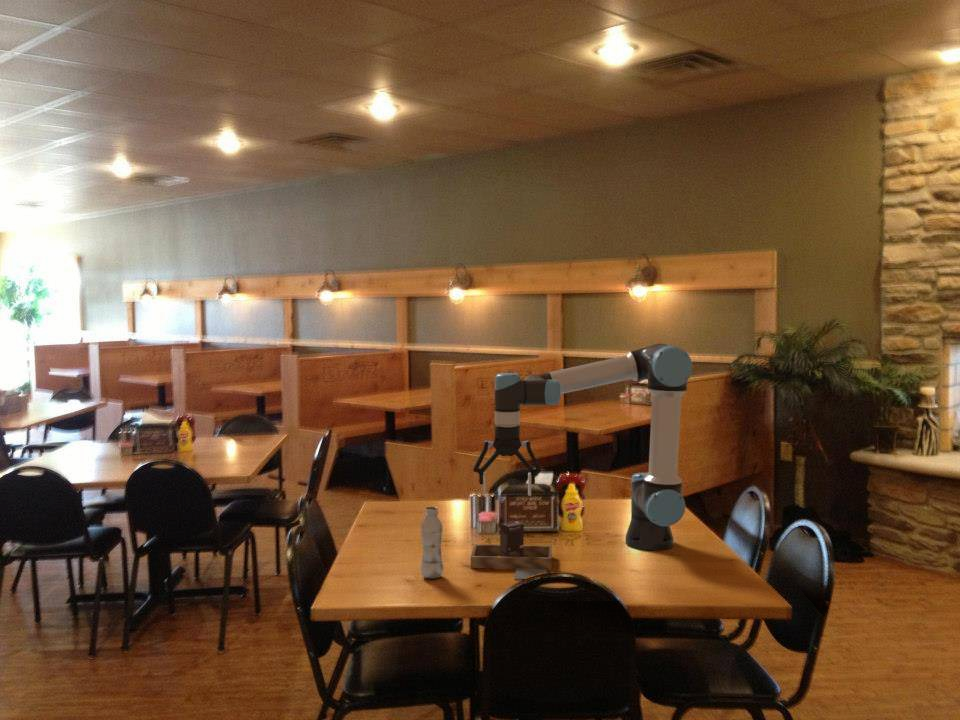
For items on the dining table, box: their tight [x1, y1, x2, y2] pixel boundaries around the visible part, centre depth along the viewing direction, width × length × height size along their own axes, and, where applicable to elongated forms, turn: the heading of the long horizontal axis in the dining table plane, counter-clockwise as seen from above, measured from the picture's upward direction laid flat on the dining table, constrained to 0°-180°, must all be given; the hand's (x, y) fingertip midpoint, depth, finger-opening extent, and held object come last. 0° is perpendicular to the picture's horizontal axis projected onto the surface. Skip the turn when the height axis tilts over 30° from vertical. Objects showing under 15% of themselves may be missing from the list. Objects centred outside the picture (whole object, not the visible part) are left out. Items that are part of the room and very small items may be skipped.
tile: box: [514, 568, 548, 581], centre depth 249 cm, size 9×9×1 cm
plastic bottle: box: [420, 506, 444, 580], centre depth 247 cm, size 6×7×20 cm
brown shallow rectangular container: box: [470, 543, 553, 571], centre depth 260 cm, size 24×13×4 cm, turn 85°
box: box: [499, 520, 525, 557], centre depth 260 cm, size 6×4×12 cm
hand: (506, 495), depth 261 cm, fingers open, 13 cm apart
